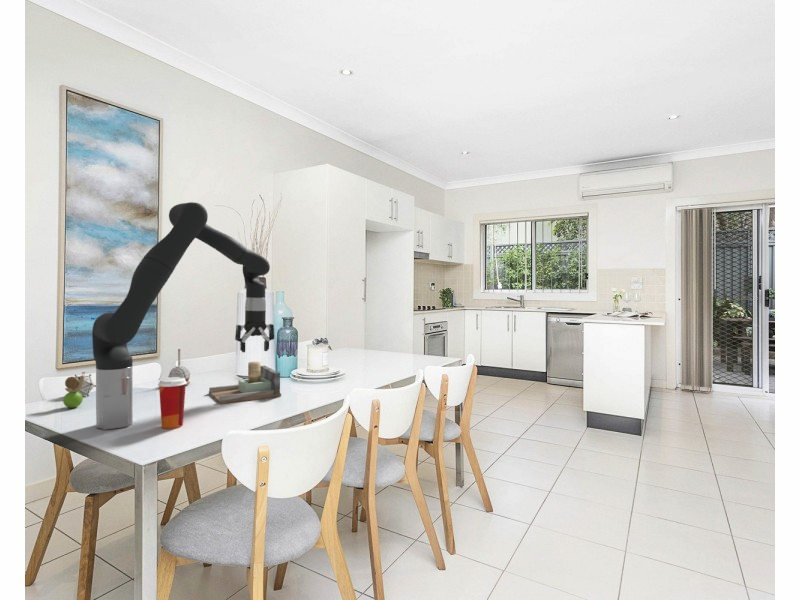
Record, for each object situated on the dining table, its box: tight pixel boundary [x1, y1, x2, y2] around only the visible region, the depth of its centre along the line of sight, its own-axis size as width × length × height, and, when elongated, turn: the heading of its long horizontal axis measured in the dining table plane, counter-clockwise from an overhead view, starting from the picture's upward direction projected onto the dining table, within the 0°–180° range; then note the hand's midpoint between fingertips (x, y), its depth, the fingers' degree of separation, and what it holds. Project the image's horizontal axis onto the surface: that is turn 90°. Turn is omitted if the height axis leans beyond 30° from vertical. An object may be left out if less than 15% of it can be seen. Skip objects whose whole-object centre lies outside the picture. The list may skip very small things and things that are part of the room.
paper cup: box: [157, 377, 187, 430], centre depth 137 cm, size 8×8×14 cm
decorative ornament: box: [167, 348, 191, 386], centre depth 190 cm, size 8×8×15 cm
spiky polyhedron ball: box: [74, 373, 96, 397], centre depth 169 cm, size 9×8×10 cm
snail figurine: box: [62, 371, 86, 409], centre depth 154 cm, size 5×6×12 cm
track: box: [208, 365, 282, 405], centre depth 175 cm, size 18×22×9 cm
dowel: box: [247, 361, 262, 383], centre depth 177 cm, size 4×4×10 cm
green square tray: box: [238, 377, 271, 393], centre depth 178 cm, size 10×10×4 cm
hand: (254, 351), depth 177 cm, fingers open, 8 cm apart
